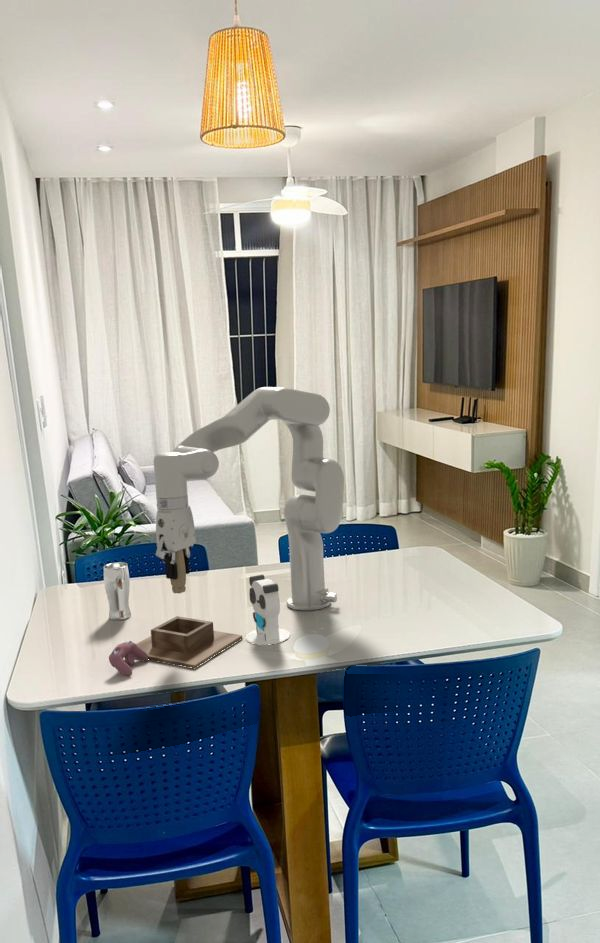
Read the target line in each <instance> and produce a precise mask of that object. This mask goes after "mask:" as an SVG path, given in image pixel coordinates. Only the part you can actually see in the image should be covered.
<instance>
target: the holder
mask: <svg viewBox="0 0 600 943" xmlns="http://www.w3.org/2000/svg"><path fill="white" fill-rule="evenodd" d="M240 639H242V640H243V635H242V634H237V633H230V632H225V631H220V630H219V631H218V630H215V628H214V622H213V621H210V620H204V619H198V618H191V617H183V616H177V615H176V616H174V617H173V618H171V619H169V620H167V621H165V622H162V623H161V624H159V625H158V626H155V627H153V628H152V629H150V636H148V637H146V638H144V639H143V640H141V641H139V642H137V643H135V644H136V645H137V646H138V647H139V648H141V649H142V650H144V651H145V652H146V653H147V655H148V659H149V660H148V661H151V660H154V661H153V662H156V661H159V662H158V663H161V662H165V663H164V664H166V663H170V664H169V665H171V664H175V665H174V666H176V665H182V666H186V667H192V668H196V667H197V666H199V665H200V664H202V663H204V662H205V661H207V660H208V659H210V658H211V657H213V656H214V655H216V654H218V653H219V652H221V651H222V650H224V649H226V648H227V647H229V646H231V645H232V644H234V643H235V642H237V641H239V640H240ZM240 641H241V640H240ZM240 641H239V642H240ZM237 643H238V642H237ZM234 645H235V644H234ZM232 646H233V645H232ZM232 646H231V647H232ZM229 648H230V647H229ZM226 650H227V649H226ZM221 653H222V652H221ZM218 655H219V654H218ZM210 660H211V659H210ZM207 662H208V661H207ZM204 664H205V663H204ZM186 667H185V668H186ZM199 667H200V666H199ZM196 669H197V668H196Z"/></svg>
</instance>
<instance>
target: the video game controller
mask: <svg viewBox="0 0 600 943" xmlns="http://www.w3.org/2000/svg"><path fill="white" fill-rule="evenodd" d="M136 644H137V643H136V642H132V641H131V640H129V641H124V642H122V643H119V644H117V645H116V646H115V647H114V648H113V650H112V652H111V653H110V654H109V656H108V662H109V664H110V666H112V668H115V669H116V670H117V671H118V673H120V674H122V675H124V676H126V677H130V675H131V676H132V674H133V669H132V668H131V667H130V666H132V665H133V664H135V658H136V659H137V660H139V661H141V662H147V661H149V660H148V655H147V653H146V652H145V651H144V650H142V649H141V648H139V647H138V646H137V645H136Z"/></svg>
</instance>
